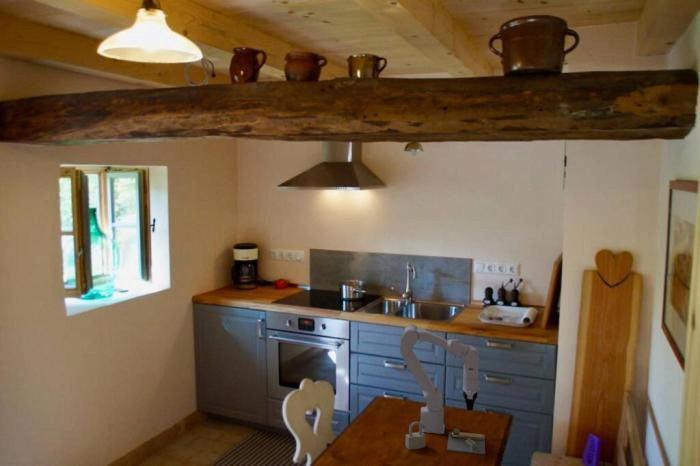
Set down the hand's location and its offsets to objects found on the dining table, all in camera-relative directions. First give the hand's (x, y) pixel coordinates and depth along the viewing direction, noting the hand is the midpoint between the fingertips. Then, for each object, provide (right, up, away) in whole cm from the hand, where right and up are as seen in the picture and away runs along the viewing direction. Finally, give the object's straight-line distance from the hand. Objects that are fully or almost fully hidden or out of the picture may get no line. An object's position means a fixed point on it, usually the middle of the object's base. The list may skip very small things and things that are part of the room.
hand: (469, 409), depth 230 cm
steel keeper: (-3, -10, -14) cm, 17 cm away
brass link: (-2, -9, -5) cm, 11 cm away
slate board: (-3, -10, -9) cm, 14 cm away
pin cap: (-6, -8, -4) cm, 11 cm away
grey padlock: (-23, -11, -12) cm, 28 cm away
